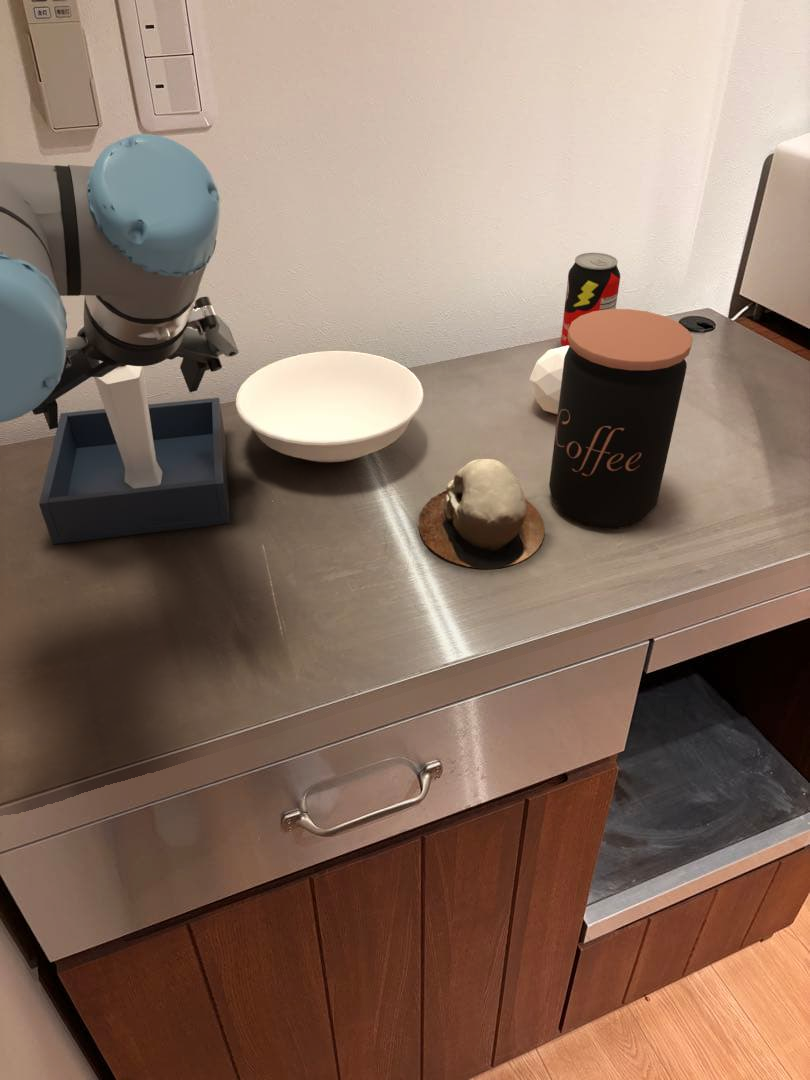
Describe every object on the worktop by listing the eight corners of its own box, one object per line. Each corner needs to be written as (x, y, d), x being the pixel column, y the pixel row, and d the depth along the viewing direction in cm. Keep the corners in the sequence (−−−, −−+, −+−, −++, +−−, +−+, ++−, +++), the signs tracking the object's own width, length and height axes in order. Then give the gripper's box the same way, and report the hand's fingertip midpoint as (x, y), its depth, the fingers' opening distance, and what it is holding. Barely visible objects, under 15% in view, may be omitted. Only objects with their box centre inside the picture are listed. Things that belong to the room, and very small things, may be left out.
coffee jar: (526, 500, 86) (542, 332, 74) (590, 459, 91) (615, 298, 80) (614, 548, 80) (647, 374, 68) (677, 501, 85) (717, 333, 74)
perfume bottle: (176, 479, 88) (148, 344, 78) (138, 496, 85) (104, 359, 76) (153, 461, 90) (123, 328, 81) (116, 477, 88) (80, 343, 79)
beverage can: (587, 336, 115) (599, 247, 107) (618, 354, 111) (633, 263, 103) (550, 346, 112) (559, 256, 105) (580, 365, 108) (592, 273, 101)
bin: (52, 544, 81) (38, 503, 78) (71, 451, 93) (60, 413, 90) (230, 523, 83) (223, 482, 80) (225, 435, 96) (219, 397, 93)
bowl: (223, 420, 98) (215, 370, 94) (383, 386, 104) (381, 337, 100) (272, 515, 84) (264, 460, 80) (453, 469, 90) (455, 417, 86)
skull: (394, 494, 85) (463, 417, 81) (466, 538, 90) (533, 468, 87) (426, 567, 75) (505, 483, 72) (504, 611, 81) (580, 535, 78)
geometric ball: (540, 428, 102) (509, 369, 100) (597, 394, 102) (567, 335, 100) (562, 430, 94) (528, 366, 93) (623, 393, 95) (591, 329, 93)
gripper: (-22, 391, 58) (-1, 470, 77) (309, 311, 68) (254, 399, 87) (-61, 289, 58) (-31, 393, 77) (275, 224, 68) (228, 331, 87)
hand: (120, 396), depth 82 cm, fingers open, 13 cm apart
